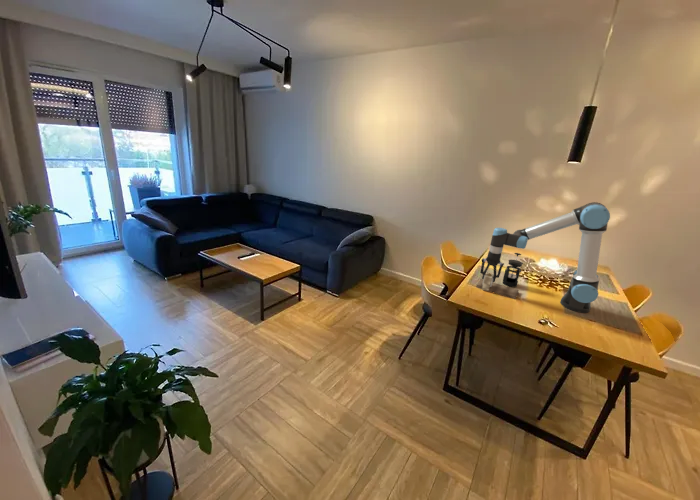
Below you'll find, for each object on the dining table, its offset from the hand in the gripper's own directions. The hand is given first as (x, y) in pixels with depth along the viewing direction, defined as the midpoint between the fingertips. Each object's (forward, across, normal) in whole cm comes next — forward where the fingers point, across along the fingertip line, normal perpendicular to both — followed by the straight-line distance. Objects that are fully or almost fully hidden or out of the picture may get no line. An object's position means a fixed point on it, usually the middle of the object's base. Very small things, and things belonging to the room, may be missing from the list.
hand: (487, 284), depth 201 cm
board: (+3, -6, -4) cm, 8 cm away
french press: (+3, -11, -20) cm, 23 cm away
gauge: (+3, 0, 0) cm, 3 cm away
